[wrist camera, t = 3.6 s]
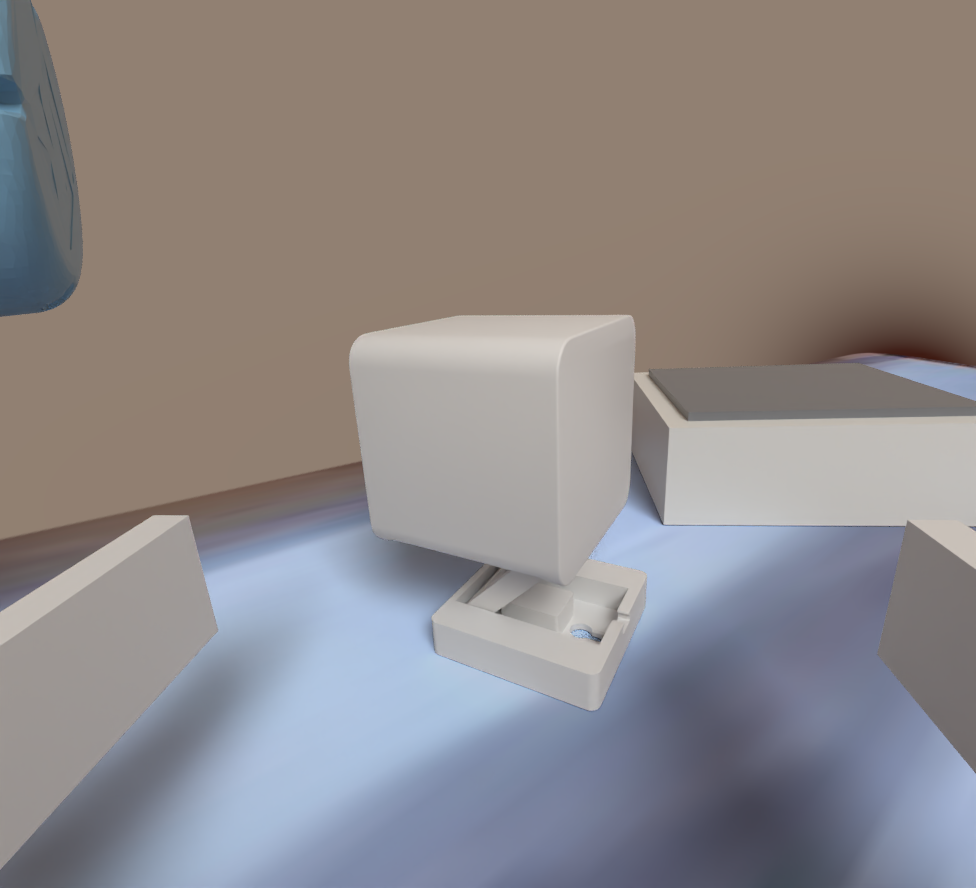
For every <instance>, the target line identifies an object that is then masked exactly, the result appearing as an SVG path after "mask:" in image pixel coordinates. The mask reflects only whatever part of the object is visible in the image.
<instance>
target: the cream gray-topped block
mask: <svg viewBox="0 0 976 888" xmlns="http://www.w3.org/2000/svg"><path fill="white" fill-rule="evenodd" d="M631 451H632V453H633V455H634V457H635V460H636V462H637V464H638V467H639V469H640V471H641V474H642V476H643V478H644V481H645V483H646V485H647V488H648V490H649V492H650V495H651V497H652V499H653V501H654V504H655V506H656V508H657V511H658V513H659V515H660V518H661V520H662V522H663V525H773V526H906V524H907V520H958V521H960V522H962V523H963V524H965V525H966V526H976V401H974V400H970V399H967V398H964V397H961V396H958V395H955V394H952V393H949V392H946V391H943V390H940V389H937V388H934V387H930V386H927V385H924V384H921V383H918V382H915V381H912V380H909V379H906V378H903V377H900V376H897V375H894V374H890V373H887V372H884V371H881V370H878V369H875V368H872V367H869V366H866V365H863V364H860V363H842V364H809V365H776V366H743V367H710V368H680V369H679V368H678V369H649V373H634V391H633V418H632V446H631Z"/></svg>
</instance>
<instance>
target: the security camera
mask: <svg viewBox="0 0 976 888" xmlns="http://www.w3.org/2000/svg"><path fill="white" fill-rule="evenodd" d="M634 363H635V324H634V320H633V318H632V317H631V316H630V315H525V316H524V315H521V316H520V315H516V316H515V315H513V316H512V315H506V316H504V315H500V316H499V315H498V316H496V315H493V316H454V317H449V318H443V319H438V320H433V321H428V322H423V323H418V324H412V325H408V326H402V327H397V328H392V329H386V330H382V331H376V332H371V333H366V334H363V335H361V336H359V337H358V338H357V339H356V341H355V342H354V344H353V346H352V348H351V351H350V355H349V368H350V376H351V383H352V390H353V397H354V405H355V412H356V418H357V427H358V434H359V441H360V448H361V455H362V463H363V470H364V478H365V485H366V492H367V499H368V507H369V514H370V521H371V526H372V530H373V532H374V533H375V535H376V536H377V537H379V538H381V539H384V540H388V541H393V540H396V541H400V542H403V543H407V544H411V545H415V546H419V547H423V548H427V549H430V550H434V551H438V552H442V553H446V554H450V555H454V556H458V557H461V558H465V559H469V560H473V561H477V562H481V563H485V564H484V565H483V566H482V567H481V568H480V569H479V570H478V571H477V572H476V573H475V574H474V575H473V576H472V577H471V578H470V579H469V580H468V581H467V582H466V583H465V584H464V585H463V586H462V587H461V588H460V589H459V590H458V591H457V592H456V593H455V594H454V595H453V596H452V597H451V598H450V599H449V600H447V601H446V602H445V603H444V604H443V605H442V606H441V607H440V608H439V609H438V610H437V611H436V612H435V613H434V614H433V615H432V628H433V637H434V647H435V652H436V653H437V654H438V655H441V656H443V657H446V658H449V659H451V660H454V661H457V662H459V663H462V664H465V665H467V666H470V667H473V668H475V669H478V670H481V671H484V672H486V673H489V674H492V675H494V676H497V677H500V678H502V679H505V680H508V681H510V682H513V683H516V684H518V685H521V686H524V687H526V688H529V689H532V690H534V691H537V692H540V693H542V694H545V695H548V696H550V697H553V698H556V699H559V700H561V701H564V702H567V703H569V704H572V705H575V706H577V707H580V708H583V709H585V710H589V711H594V710H597V709H599V708H600V706H601V704H602V702H603V700H604V698H605V695H606V693H607V691H608V689H609V686H610V684H611V682H612V680H613V678H614V675H615V673H616V671H617V669H618V666H619V664H620V662H621V660H622V658H623V655H624V653H625V651H626V649H627V646H628V644H629V642H630V640H631V638H632V635H633V633H634V631H635V629H636V626H637V624H638V622H639V620H640V617H641V615H642V613H643V611H644V609H645V603H646V583H647V575H646V573H645V572H643V571H640V570H635V569H631V568H626V567H622V566H618V565H613V564H609V563H605V562H600V561H596V560H591V559H588V557H589V556H590V555H591V553H592V552H593V550H594V549H595V548H596V546H597V545H598V543H599V542H600V540H601V539H602V538H603V536H604V535H605V533H606V532H607V530H608V529H609V528H610V526H611V525H612V523H613V522H614V521H615V519H616V518H617V516H618V515H619V513H620V512H621V511H622V509H623V508H624V506H625V504H626V501H627V498H628V493H629V487H630V473H631V446H632V418H633V391H634ZM578 629H582V630H586V631H588V632H590V633H591V635H592V636H593V637H597V638H600V639H602V640H601V642H598V641H595V640H591V639H588V638H577V637H575V636H573V635H572V634H571V632H572V631H574V630H578Z"/></svg>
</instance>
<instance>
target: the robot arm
mask: <svg viewBox="0 0 976 888" xmlns="http://www.w3.org/2000/svg"><path fill="white" fill-rule="evenodd" d="M82 244H83V241H82V225H81V214H80V205H79V197H78V187H77V181H76V175H75V168H74V162H73V156H72V149H71V144H70V139H69V133H68V128H67V123H66V118H65V113H64V108H63V104H62V99H61V95H60V91H59V87H58V82H57V78H56V74H55V70H54V66H53V62H52V58H51V55H50V51H49V48H48V44H47V41H46V38H45V34H44V31H43V28H42V25H41V22H40V19H39V17H38V15H37V13H36V11H35V9H34V7H33V6H32V3H31V0H0V317H2V316H11V315H20V314H30V313H39V312H44V311H47V310H50V309H53V308H55V307H57V306H59V305H61V304H62V303H64V302H65V301H66V300H67V299H68V298H69V297H70V296H71V295H72V293H73V292H74V290H75V288H76V287H77V284H78V281H79V278H80V274H81V268H82V256H83V248H82V247H83V246H82ZM217 632H218V628H217V624H216V620H215V616H214V613H213V609H212V605H211V601H210V597H209V593H208V589H207V586H206V582H205V578H204V574H203V570H202V566H201V562H200V558H199V555H198V551H197V547H196V543H195V539H194V535H193V531H192V528H191V524H190V520H189V516H168V515H153V516H152V517H150V518H149V519H147V520H145V521H144V522H142V523H141V524H139V525H137V526H136V527H134V528H133V529H131V530H130V531H128V532H126V533H125V534H123V535H122V536H120V537H118V538H117V539H115V540H114V541H112V542H111V543H109V544H107V545H106V546H104V547H103V548H101V549H99V550H98V551H96V552H95V553H93V554H92V555H90V556H88V557H87V558H85V559H84V560H82V561H80V562H79V563H77V564H76V565H74V566H73V567H71V568H69V569H68V570H66V571H65V572H63V573H61V574H60V575H58V576H57V577H55V578H54V579H52V580H50V581H49V582H47V583H46V584H44V585H42V586H41V587H39V588H38V589H36V590H34V591H33V592H31V593H30V594H28V595H27V596H25V597H23V598H22V599H20V600H19V601H17V602H15V603H14V604H12V605H11V606H9V607H8V608H6V609H4V610H3V611H1V612H0V870H1V868H2V867H3V866H4V865H5V864H6V863H7V862H8V861H9V860H10V859H11V857H12V856H13V855H14V854H15V853H16V852H17V851H18V850H19V849H20V848H21V847H22V845H23V844H24V843H25V842H26V841H27V840H28V839H29V838H30V837H31V836H32V834H33V833H34V832H35V831H36V830H37V829H38V828H39V827H40V826H41V825H42V823H43V822H44V821H45V820H46V819H47V818H48V817H49V816H50V815H51V814H52V813H53V811H54V810H55V809H56V808H57V807H58V806H59V805H60V804H61V803H62V802H63V800H64V799H65V798H66V797H67V796H68V795H69V794H70V793H71V792H72V791H73V789H74V788H75V787H76V786H77V785H78V784H79V783H80V782H81V781H82V780H83V779H84V777H85V776H86V775H87V774H88V773H89V772H90V771H91V770H92V769H93V768H94V766H95V765H96V764H97V763H98V762H99V761H100V760H101V759H102V758H103V757H104V755H105V754H106V753H107V752H108V751H109V750H110V749H111V748H112V747H113V746H114V745H115V743H116V742H117V741H118V740H119V739H120V738H121V737H122V736H123V735H124V734H125V732H126V731H127V730H128V729H129V728H130V727H131V726H132V725H133V724H134V723H135V721H136V720H137V719H138V718H139V717H140V716H141V715H142V714H143V713H144V712H145V710H146V709H147V708H148V707H149V706H150V705H151V704H152V703H153V702H154V701H155V700H156V698H157V697H158V696H159V695H160V694H161V693H162V692H163V691H164V690H165V689H166V687H167V686H168V685H169V684H170V683H171V682H172V681H173V680H174V679H175V678H176V676H177V675H178V674H179V673H180V672H181V671H182V670H183V669H184V668H185V667H186V666H187V664H188V663H189V662H190V661H191V660H192V659H193V658H194V657H195V656H196V655H197V653H198V652H199V651H200V650H201V649H202V648H203V647H204V646H205V645H206V644H207V642H208V641H209V640H210V639H211V638H212V637H213V636H214V635H215V634H216V633H217ZM877 655H878V656H879V657H880V658H881V659H882V661H883V662H884V663H885V664H886V665H887V667H888V668H889V669H890V670H891V672H892V673H893V674H894V675H895V676H896V678H897V679H898V680H899V681H900V682H901V684H902V685H903V686H904V687H905V688H906V690H907V691H908V692H909V693H910V694H911V696H912V697H913V698H914V699H915V701H916V702H917V703H918V704H919V705H920V707H921V708H922V709H923V710H924V711H925V713H926V714H927V715H928V716H929V717H930V719H931V720H932V721H933V722H934V724H935V725H936V726H937V727H938V728H939V730H940V731H941V732H942V733H943V734H944V736H945V737H946V738H947V739H948V740H949V742H950V743H951V744H952V745H953V746H954V748H955V749H956V750H957V751H958V753H959V754H960V755H961V756H962V757H963V759H964V760H965V761H966V762H967V763H968V765H969V766H970V767H971V768H972V769H973V771H974V772H975V773H976V531H974V530H973V529H971V528H969V527H968V526H966V525H965V524H963V523H962V522H960V521H958V520H907V524H906V528H905V533H904V537H903V542H902V546H901V551H900V555H899V560H898V564H897V569H896V573H895V577H894V582H893V586H892V591H891V595H890V600H889V604H888V609H887V613H886V618H885V622H884V627H883V631H882V636H881V640H880V645H879V649H878V654H877Z"/></svg>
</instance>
